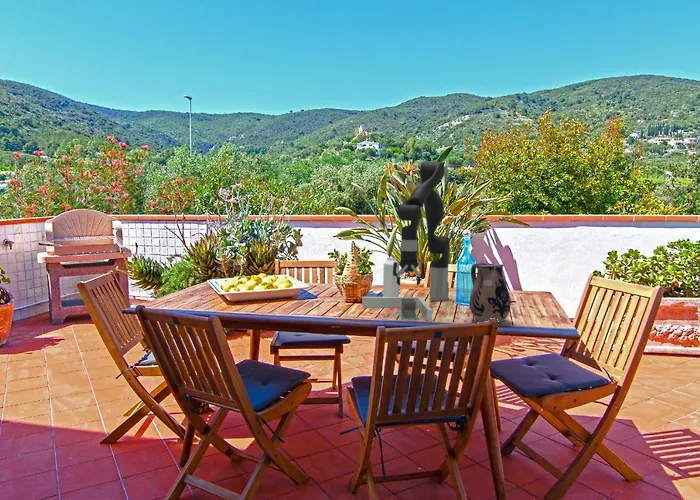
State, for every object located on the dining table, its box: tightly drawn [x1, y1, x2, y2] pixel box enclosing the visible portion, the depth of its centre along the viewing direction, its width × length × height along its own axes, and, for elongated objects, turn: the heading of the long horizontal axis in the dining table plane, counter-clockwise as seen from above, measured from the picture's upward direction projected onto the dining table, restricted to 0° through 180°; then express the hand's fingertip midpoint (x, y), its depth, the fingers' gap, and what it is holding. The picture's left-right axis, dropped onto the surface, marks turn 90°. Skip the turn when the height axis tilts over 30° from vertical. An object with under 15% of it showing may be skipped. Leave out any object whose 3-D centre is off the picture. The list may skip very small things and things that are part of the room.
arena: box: [361, 296, 433, 322], centre depth 253 cm, size 29×30×5 cm
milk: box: [382, 257, 400, 297], centre depth 286 cm, size 6×6×22 cm
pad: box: [397, 311, 420, 320], centre depth 250 cm, size 8×14×1 cm, turn 1°
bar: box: [401, 296, 417, 318], centre depth 249 cm, size 11×5×7 cm, turn 1°
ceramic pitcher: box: [468, 262, 512, 324], centre depth 239 cm, size 18×21×25 cm
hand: (408, 285), depth 248 cm, fingers open, 8 cm apart
